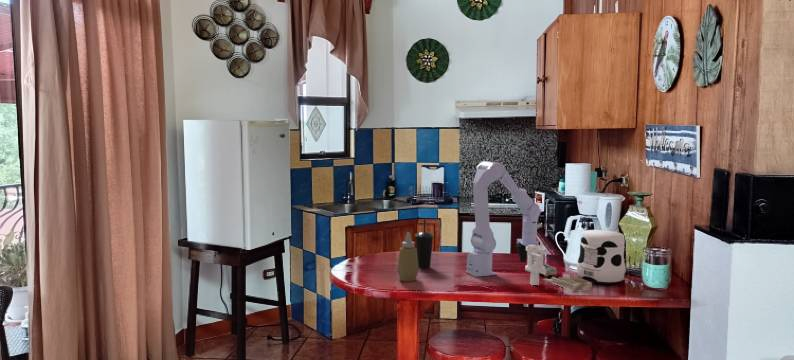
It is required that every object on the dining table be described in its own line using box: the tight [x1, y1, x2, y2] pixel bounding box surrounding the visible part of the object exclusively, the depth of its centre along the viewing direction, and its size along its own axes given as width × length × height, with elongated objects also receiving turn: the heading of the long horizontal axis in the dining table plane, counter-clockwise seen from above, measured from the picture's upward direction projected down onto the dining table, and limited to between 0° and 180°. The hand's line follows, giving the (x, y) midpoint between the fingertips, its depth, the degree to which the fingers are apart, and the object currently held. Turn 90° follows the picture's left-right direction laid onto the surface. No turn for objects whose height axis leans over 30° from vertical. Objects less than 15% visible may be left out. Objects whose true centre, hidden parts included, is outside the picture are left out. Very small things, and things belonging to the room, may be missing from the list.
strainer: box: [524, 244, 547, 286], centre depth 205 cm, size 7×7×15 cm
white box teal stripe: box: [539, 263, 558, 279], centre depth 217 cm, size 5×7×4 cm
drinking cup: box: [414, 218, 435, 270], centre depth 227 cm, size 8×8×20 cm
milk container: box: [576, 229, 626, 285], centre depth 210 cm, size 17×17×18 cm
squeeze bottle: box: [397, 232, 420, 282], centre depth 209 cm, size 8×8×18 cm
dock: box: [542, 274, 593, 292], centre depth 206 cm, size 9×17×3 cm, turn 22°
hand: (528, 264), depth 228 cm, fingers open, 7 cm apart
